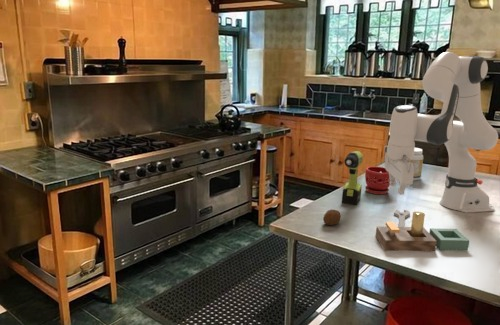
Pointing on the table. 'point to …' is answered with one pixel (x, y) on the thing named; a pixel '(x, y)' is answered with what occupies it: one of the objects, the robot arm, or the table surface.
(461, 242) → the green square frame
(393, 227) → the block
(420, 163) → the supplement tub
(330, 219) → the potato
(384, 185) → the plant pot
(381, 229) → the socket block
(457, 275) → the table surface
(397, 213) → the adjustable wrench
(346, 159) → the cordless drill
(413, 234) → the gold rounded cylinder
